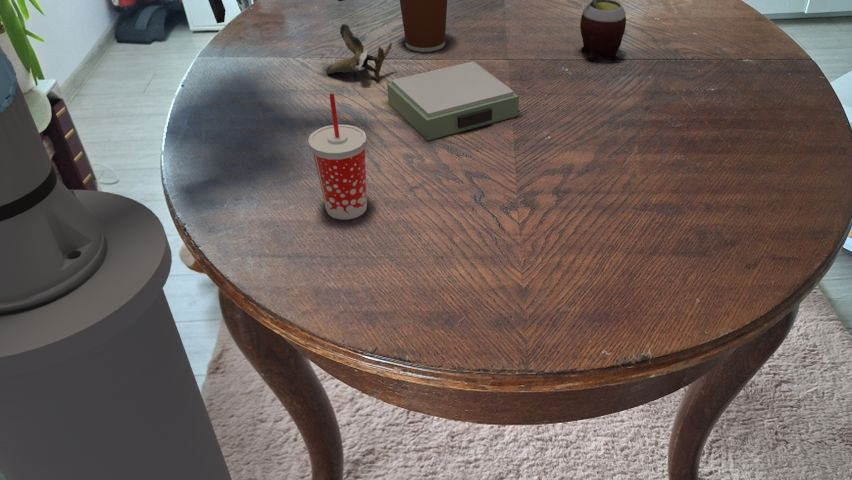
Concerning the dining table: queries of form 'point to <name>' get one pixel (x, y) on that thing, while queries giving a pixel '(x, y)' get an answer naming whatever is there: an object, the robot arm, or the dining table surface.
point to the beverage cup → (341, 167)
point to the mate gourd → (602, 28)
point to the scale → (452, 100)
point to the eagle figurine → (357, 55)
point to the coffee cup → (424, 24)
